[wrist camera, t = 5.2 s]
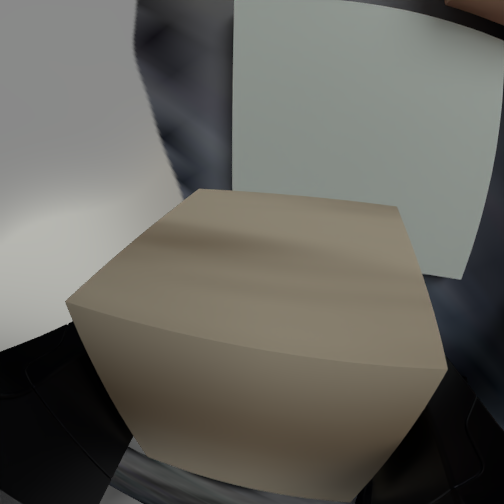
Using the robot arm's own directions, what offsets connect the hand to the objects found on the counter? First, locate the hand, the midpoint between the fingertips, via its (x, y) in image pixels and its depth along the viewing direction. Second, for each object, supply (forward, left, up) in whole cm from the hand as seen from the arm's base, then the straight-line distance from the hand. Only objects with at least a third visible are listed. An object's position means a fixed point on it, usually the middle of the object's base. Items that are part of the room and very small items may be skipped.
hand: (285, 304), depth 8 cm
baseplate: (+3, -2, -11) cm, 12 cm away
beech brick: (0, 0, -1) cm, 1 cm away
